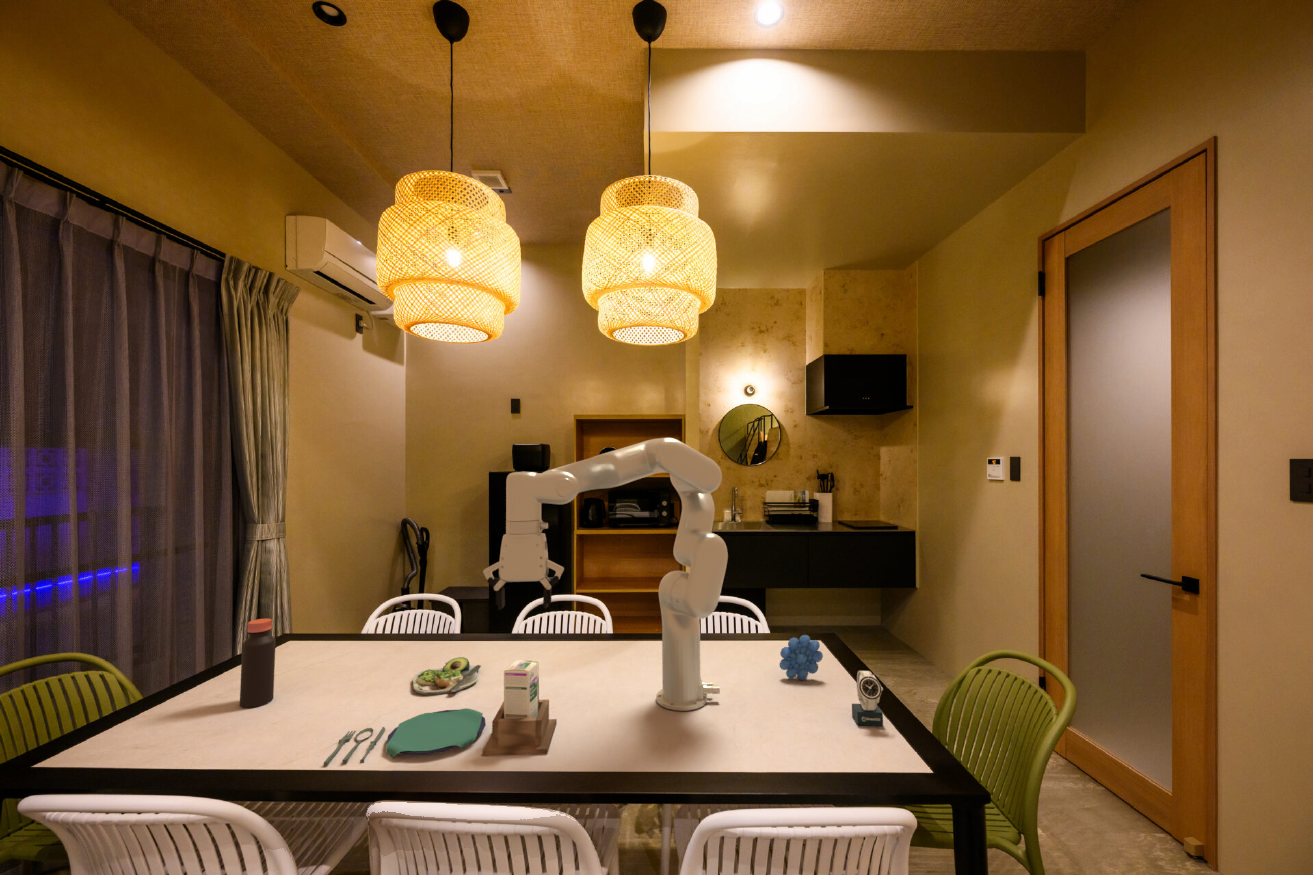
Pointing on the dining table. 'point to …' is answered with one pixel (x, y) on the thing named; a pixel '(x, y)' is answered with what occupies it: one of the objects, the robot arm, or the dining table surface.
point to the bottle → (257, 665)
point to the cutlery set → (424, 734)
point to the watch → (867, 701)
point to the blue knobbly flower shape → (800, 657)
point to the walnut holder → (521, 733)
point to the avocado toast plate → (447, 677)
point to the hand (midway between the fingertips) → (523, 607)
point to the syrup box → (521, 690)
